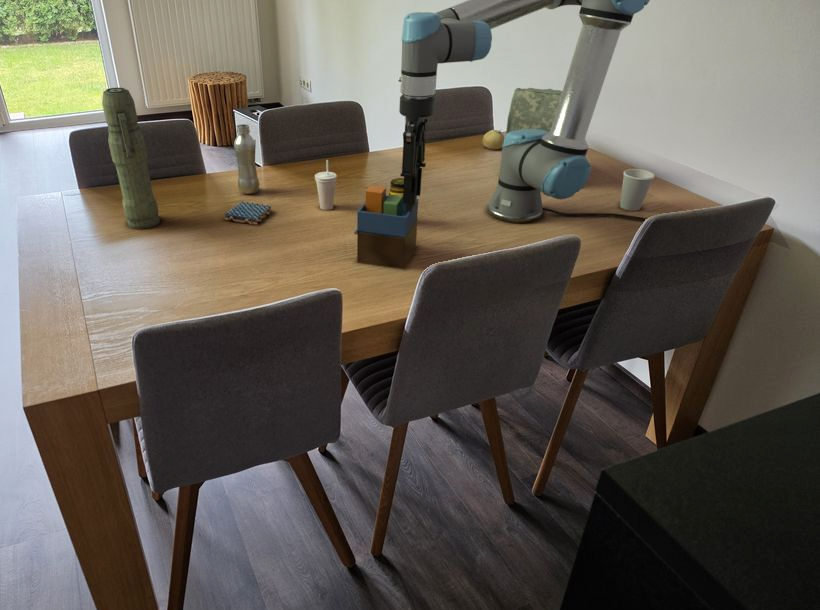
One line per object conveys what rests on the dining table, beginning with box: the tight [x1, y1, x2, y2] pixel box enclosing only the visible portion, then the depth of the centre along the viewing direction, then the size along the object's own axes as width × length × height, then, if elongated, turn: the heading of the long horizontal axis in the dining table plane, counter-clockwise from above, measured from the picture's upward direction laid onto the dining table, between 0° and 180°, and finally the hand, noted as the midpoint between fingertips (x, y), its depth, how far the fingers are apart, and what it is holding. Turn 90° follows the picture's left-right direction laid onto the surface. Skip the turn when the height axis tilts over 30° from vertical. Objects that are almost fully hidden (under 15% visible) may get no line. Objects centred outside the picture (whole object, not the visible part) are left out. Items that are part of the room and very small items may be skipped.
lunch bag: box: [505, 87, 563, 135], centre depth 194 cm, size 22×16×27 cm
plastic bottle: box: [233, 123, 260, 195], centre depth 184 cm, size 6×7×20 cm
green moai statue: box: [101, 87, 161, 230], centre depth 161 cm, size 9×12×35 cm
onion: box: [482, 128, 505, 151], centre depth 224 cm, size 8×8×7 cm
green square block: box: [384, 194, 403, 216], centre depth 148 cm, size 3×6×6 cm, turn 162°
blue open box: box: [356, 167, 419, 237], centre depth 146 cm, size 12×12×14 cm
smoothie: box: [314, 159, 338, 211], centre depth 176 cm, size 6×6×14 cm
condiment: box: [388, 177, 404, 196], centre depth 168 cm, size 7×8×12 cm
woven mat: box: [224, 200, 273, 226], centre depth 174 cm, size 10×11×2 cm
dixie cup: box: [619, 168, 656, 212], centre depth 177 cm, size 8×8×10 cm
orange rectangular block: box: [365, 185, 387, 214], centre depth 148 cm, size 4×4×8 cm
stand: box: [353, 217, 419, 270], centre depth 152 cm, size 12×14×8 cm
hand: (411, 198), depth 145 cm, fingers closed on blue open box, 5 cm apart
